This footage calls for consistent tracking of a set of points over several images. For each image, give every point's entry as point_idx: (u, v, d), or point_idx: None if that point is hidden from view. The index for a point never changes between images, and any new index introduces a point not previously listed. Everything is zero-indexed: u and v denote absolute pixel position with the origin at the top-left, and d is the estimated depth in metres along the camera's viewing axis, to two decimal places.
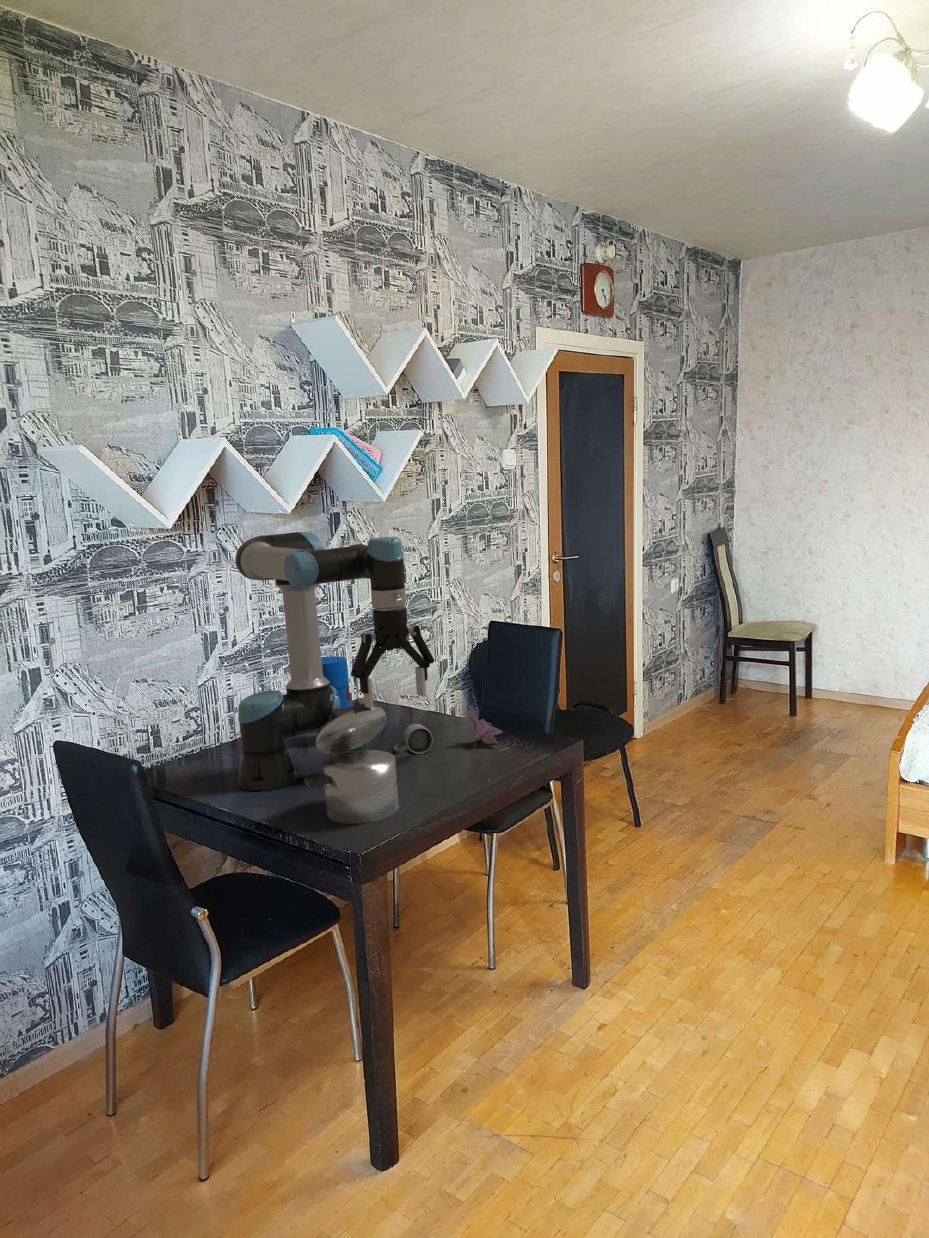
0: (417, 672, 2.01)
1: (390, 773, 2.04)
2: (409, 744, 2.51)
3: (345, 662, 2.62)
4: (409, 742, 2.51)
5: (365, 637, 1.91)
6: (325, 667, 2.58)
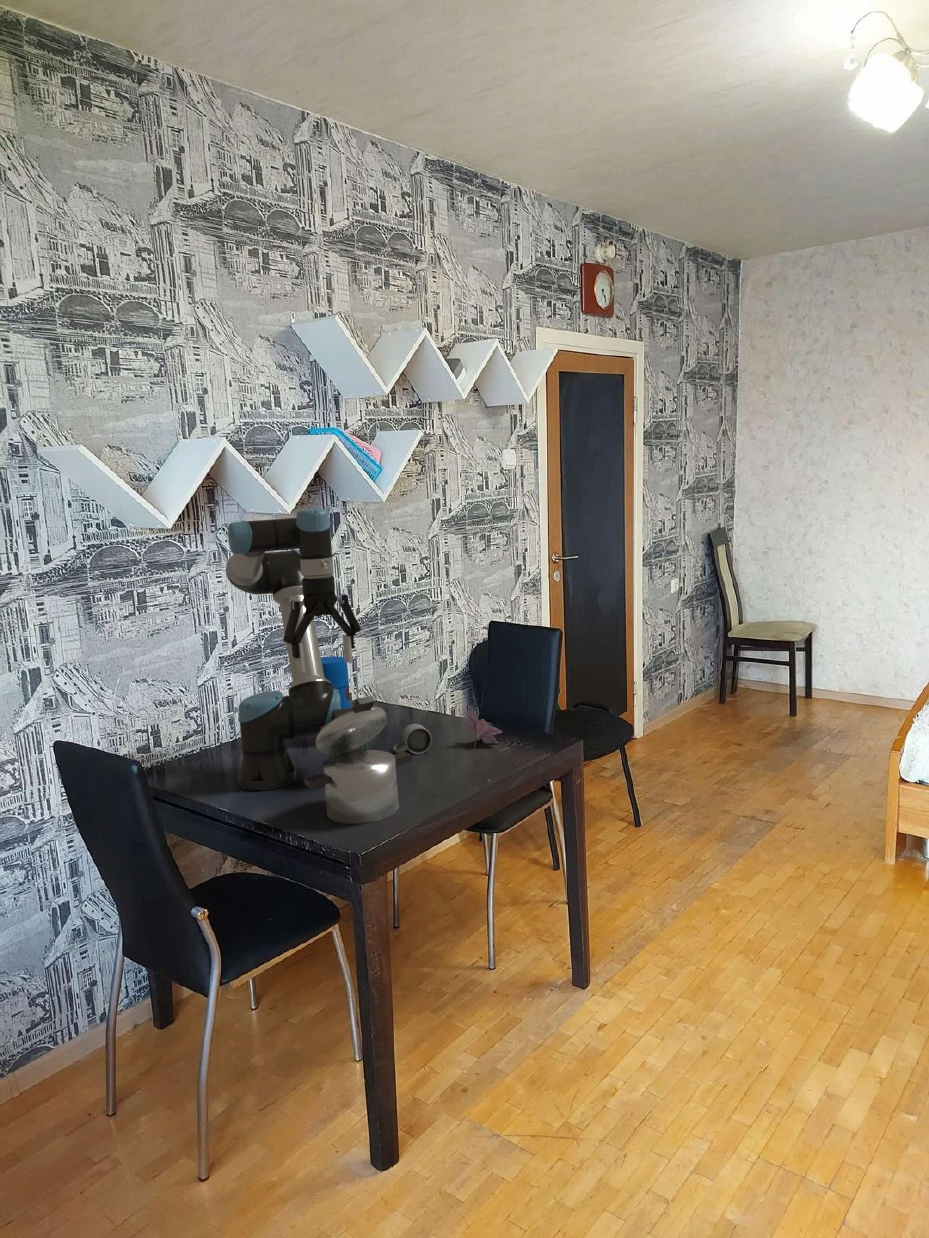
0: (344, 640, 2.12)
1: (390, 773, 2.04)
2: (408, 744, 2.51)
3: (345, 662, 2.62)
4: (408, 742, 2.51)
5: (294, 604, 2.02)
6: (325, 667, 2.58)
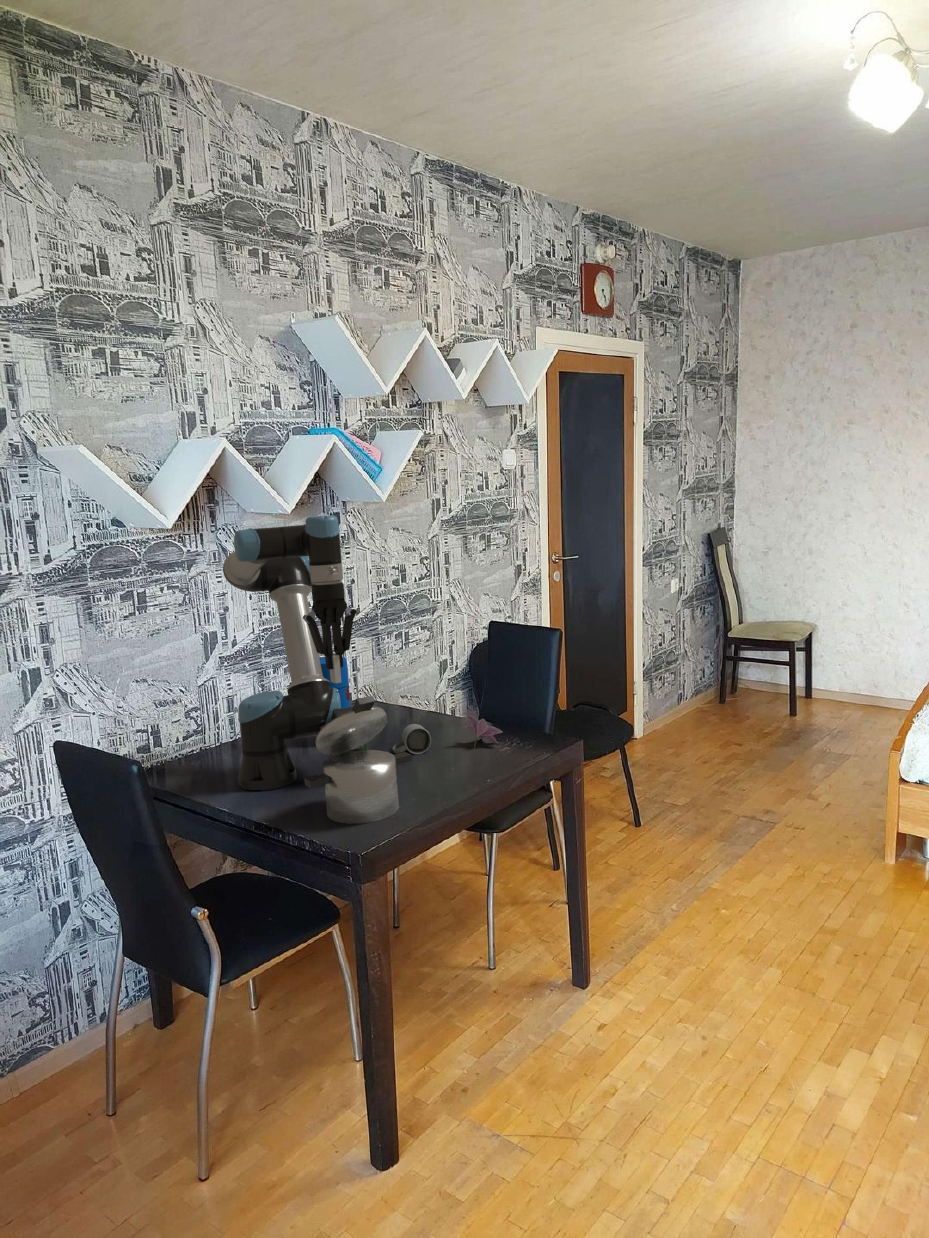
0: None
1: (390, 773, 2.04)
2: (407, 744, 2.51)
3: (345, 662, 2.62)
4: (407, 742, 2.51)
5: (307, 620, 2.02)
6: (325, 667, 2.58)
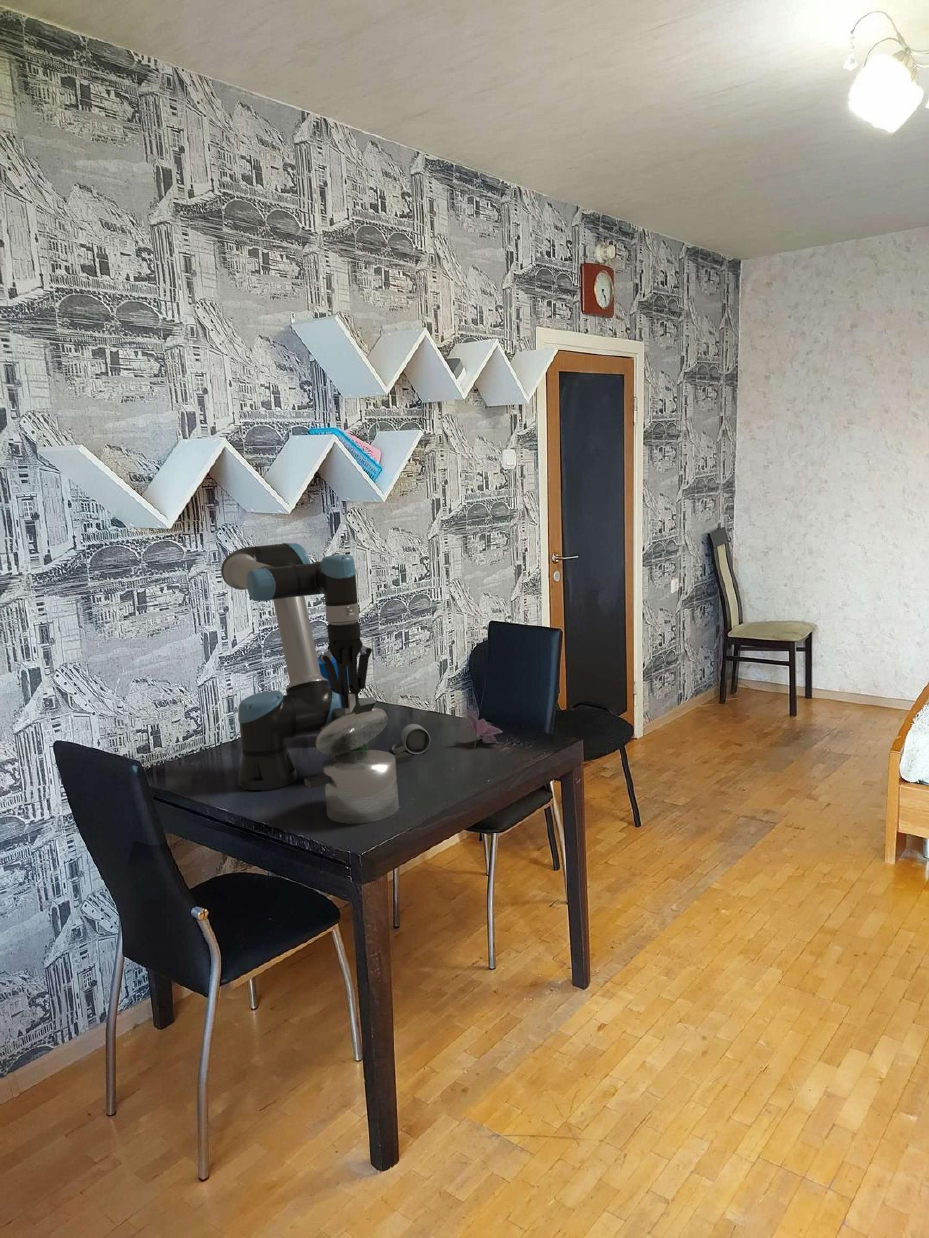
0: None
1: (390, 773, 2.04)
2: (407, 744, 2.51)
3: None
4: (407, 742, 2.51)
5: (323, 660, 2.02)
6: None
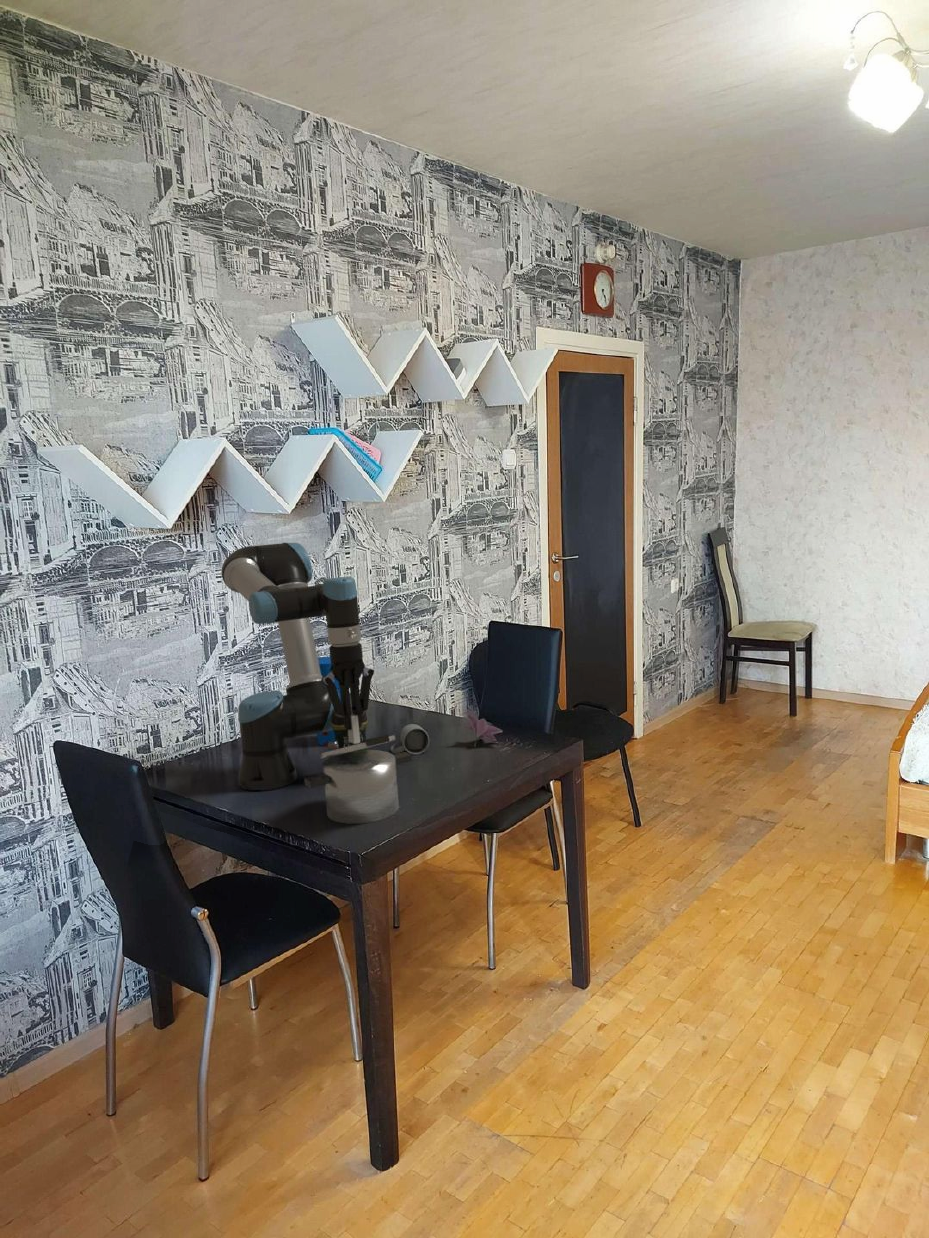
0: None
1: (390, 773, 2.04)
2: (405, 744, 2.51)
3: None
4: (405, 742, 2.51)
5: (326, 682, 2.02)
6: (325, 667, 2.58)
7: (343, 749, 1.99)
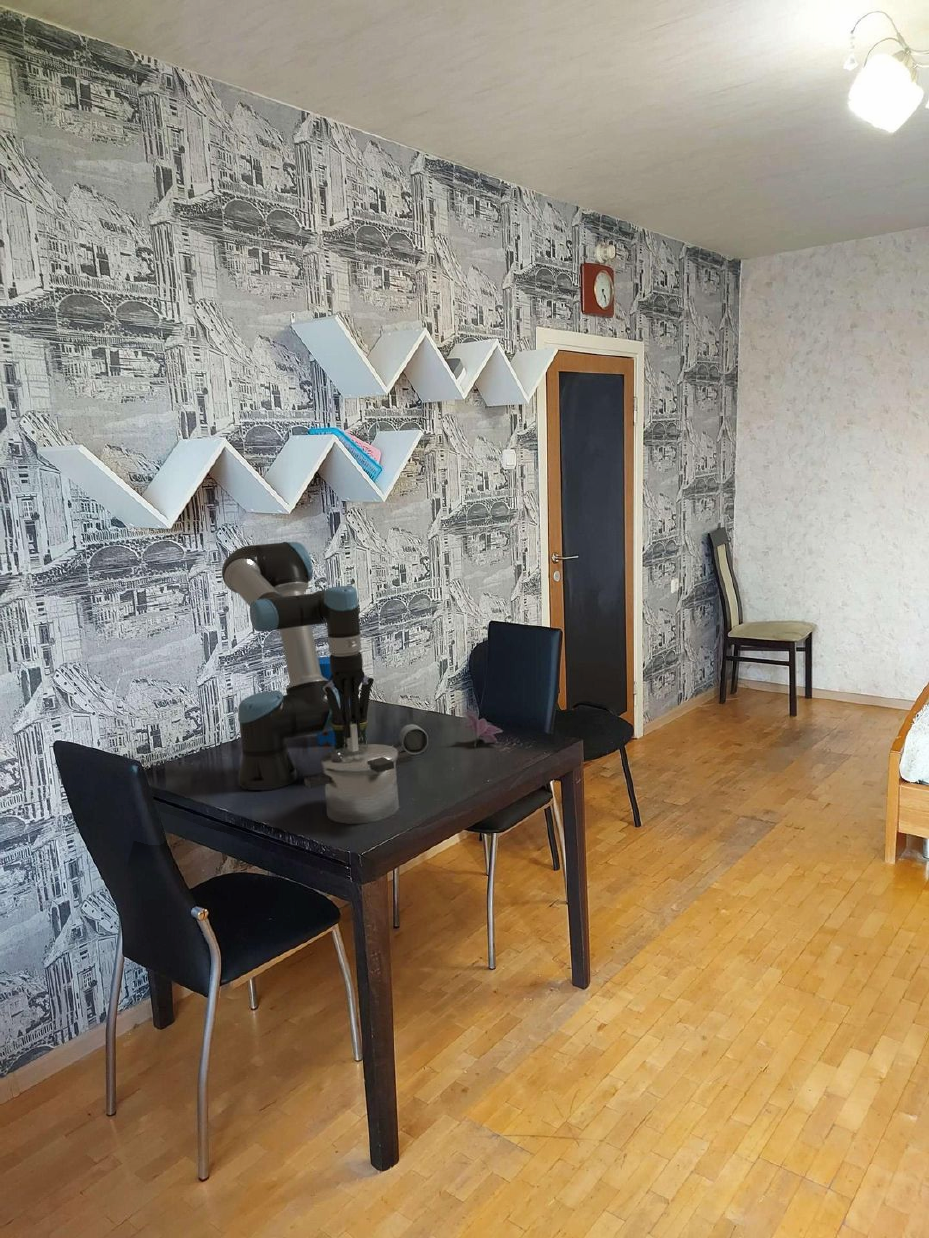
0: None
1: (390, 773, 2.04)
2: (404, 745, 2.51)
3: None
4: (404, 743, 2.50)
5: (325, 691, 2.03)
6: (325, 667, 2.58)
7: (347, 768, 1.99)
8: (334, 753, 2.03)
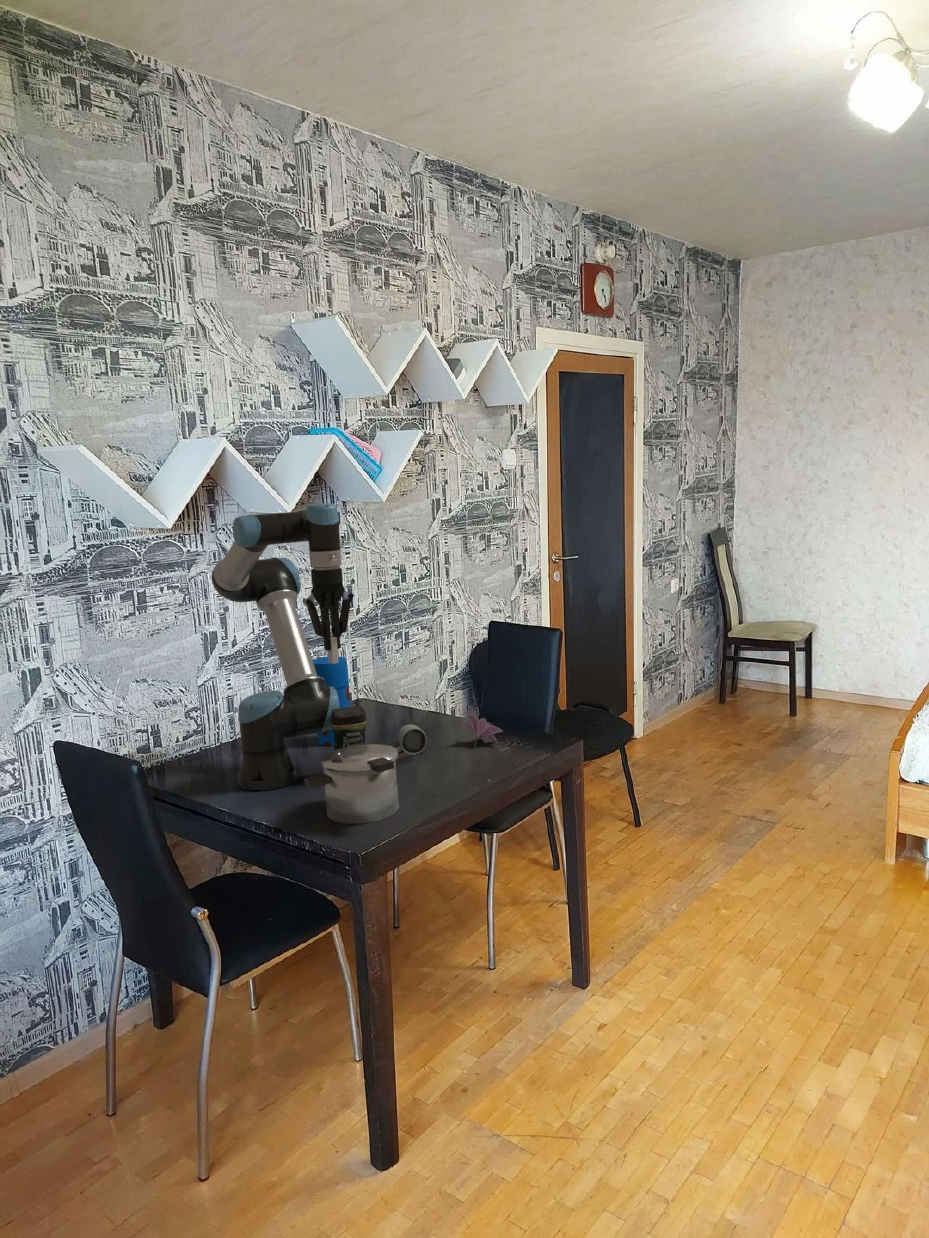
0: None
1: (390, 773, 2.04)
2: (403, 745, 2.51)
3: (345, 662, 2.62)
4: (403, 743, 2.50)
5: (306, 603, 2.11)
6: (325, 667, 2.58)
7: (347, 768, 1.99)
8: (334, 753, 2.03)
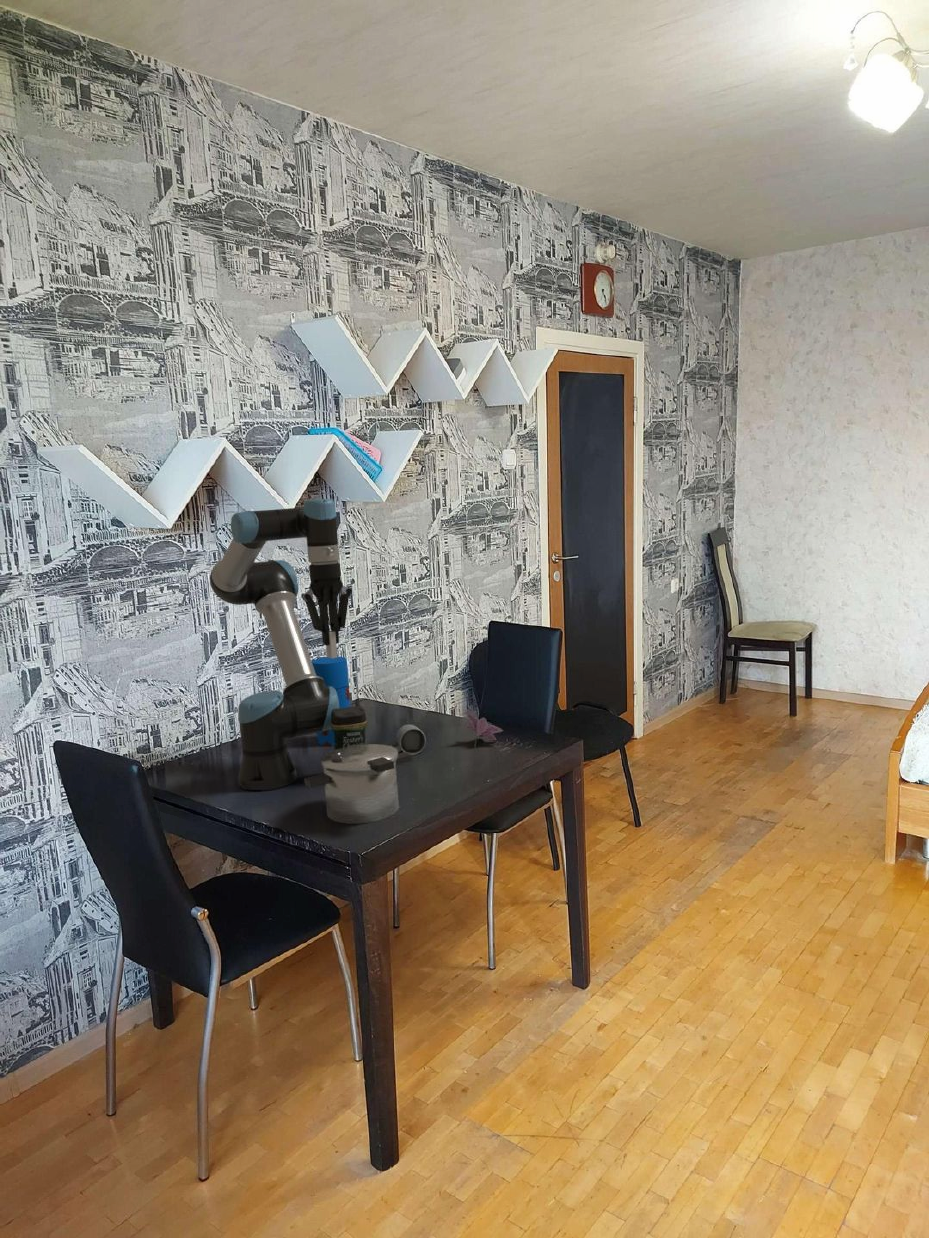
0: None
1: (390, 773, 2.04)
2: (402, 745, 2.51)
3: (345, 662, 2.62)
4: (402, 743, 2.50)
5: (305, 598, 2.13)
6: (325, 667, 2.58)
7: (347, 768, 1.99)
8: (334, 753, 2.03)
